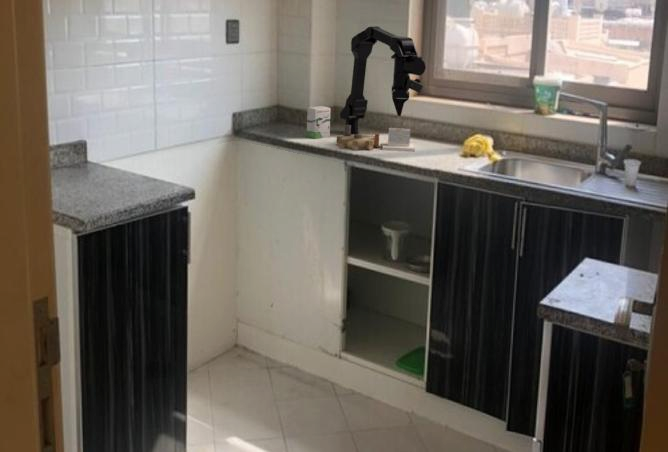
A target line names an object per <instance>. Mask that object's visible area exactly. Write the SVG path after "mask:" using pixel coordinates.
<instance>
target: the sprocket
mask: <svg viewBox="0 0 668 452" xmlns="http://www.w3.org/2000/svg"><path fill="white" fill-rule="evenodd" d="M344 130H345V131H344ZM344 130H343V132H344V134H343V133H342V135H337V136H336V143H335V145H337V146H338V148H341V149H344V148H346V149H351V150H353V151H354V150H356V151H358V150H373V149H374V148H379V146H380V133H379V132H377V133H376V132H375V133H374V135H373V134H372V135H367V134H363V133H359V134H351V125H345V124H344Z"/></svg>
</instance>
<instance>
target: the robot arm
mask: <svg viewBox="0 0 668 452" xmlns="http://www.w3.org/2000/svg"><path fill="white" fill-rule="evenodd" d="M378 42H380V43H382V44H384V45H386V46H388V47H389V50H391V51H392V52H393V54H392V55H391V56H390V58H391V59H392V60H393V59H394V64H393V80H392V85H391V97H392V98H391V99H392V101H393V105H394V108H395V112H396V114H397V117H401V115H402V113H403V109H404V104H405V103H406V102H407V101H409V99H410V90H411V91H413V92H414V91H415V92H417V94H422V90H423V88H424V86H425V85H424V83H422V82H421V78H417V77H416V78H415V79H412V78H411V76H410V75H414V76H421V75H423V74H424V73H425V71H426V63H425V61H424V60H423V56H421V55H419V54H418V51H417V49H416V46H415V43H414V41H413V38H411V37H407V36H399V35H396V34H393V33H391V32H389V31H387V30H384V29H382V28H381V27H379V26H376V25H375V26H368V27H366V29H364V30H363V31H360V32H358V33H357V34H356V35H354V36H353V37H351V41H350V49H351V52H352V55H353V57H354V59H353V69H352V79H351V87H350V89H351V90H350V94H349V95H348V97H347V98H346V101H345V104H344V105H345V106H344V107H343V108H342V110H341V111H340V113H339V115H340V116H339V117H340V119H342V120H344V126H345V125H351V134H361V133H360V130H359V129H360V127H359V126H360V119H361V120H362V119H364V118H365V116H366V115H365V114H366V112H367V110H368V99H366V98H365V96H364V91H365V83H366V82H365V81H366V79H365V78H366V72H367V71H366V70H367V62H368V58H369V56H371V54H372V51H373V48H374V45H375V44H377V43H378ZM344 131H345V129H343V133H342V135H343V134H344Z"/></svg>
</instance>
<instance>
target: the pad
mask: <svg viewBox="0 0 668 452" xmlns="http://www.w3.org/2000/svg"><path fill="white" fill-rule="evenodd" d="M381 146H382V150H383V151H399V152H401V151H402V152H415V150H416V149H415V143H414V142H410V143H409V146H392V145H388V141H385V140H384V141H383V140H382V145H381Z"/></svg>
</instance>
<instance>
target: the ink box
mask: <svg viewBox="0 0 668 452" xmlns="http://www.w3.org/2000/svg"><path fill="white" fill-rule="evenodd" d="M306 115H307V116H306V138H308V139H309V138H310V139H314V140H315V139H323V138H330V136H331V135H330V134H331V133H330V132H331V107H328V106H324V105H319V106H308V107H307V114H306Z"/></svg>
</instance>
